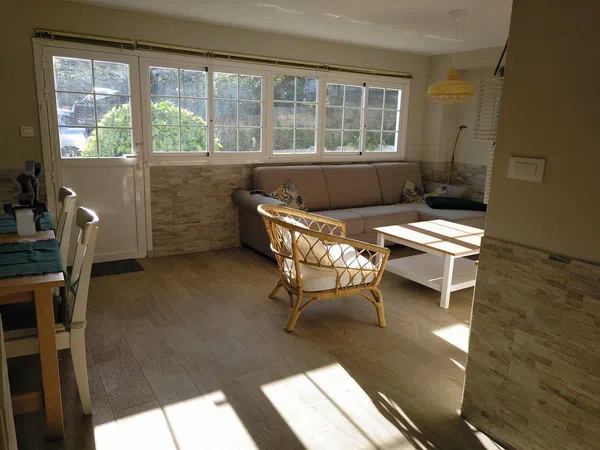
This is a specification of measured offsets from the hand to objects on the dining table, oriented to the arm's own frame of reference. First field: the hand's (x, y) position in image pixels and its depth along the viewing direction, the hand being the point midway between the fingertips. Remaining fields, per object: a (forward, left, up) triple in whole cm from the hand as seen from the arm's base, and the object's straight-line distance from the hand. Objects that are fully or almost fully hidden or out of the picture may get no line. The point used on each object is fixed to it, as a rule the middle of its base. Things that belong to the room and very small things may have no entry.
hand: (25, 222), depth 221 cm
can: (-1, 0, -7) cm, 7 cm away
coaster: (-1, 0, -10) cm, 10 cm away
